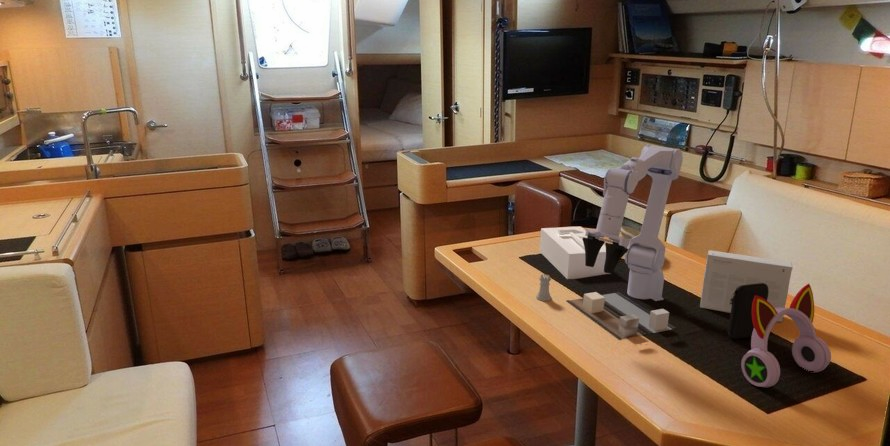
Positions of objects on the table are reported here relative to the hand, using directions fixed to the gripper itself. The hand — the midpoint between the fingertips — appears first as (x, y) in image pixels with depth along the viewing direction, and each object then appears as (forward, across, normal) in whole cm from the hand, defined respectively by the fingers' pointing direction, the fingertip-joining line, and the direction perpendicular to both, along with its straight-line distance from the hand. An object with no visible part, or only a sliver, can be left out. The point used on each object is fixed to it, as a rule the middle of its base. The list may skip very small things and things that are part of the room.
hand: (598, 269), depth 158 cm
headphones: (+13, +30, +34) cm, 47 cm away
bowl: (-3, -44, +50) cm, 67 cm away
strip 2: (+11, -7, +20) cm, 24 cm away
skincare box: (+4, +1, +50) cm, 50 cm away
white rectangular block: (+4, -46, +26) cm, 52 cm away
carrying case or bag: (+9, +13, +39) cm, 42 cm away
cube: (+12, -12, +11) cm, 20 cm away
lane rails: (+13, -7, +16) cm, 21 cm away
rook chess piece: (+14, -23, +2) cm, 27 cm away
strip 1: (+14, -7, +11) cm, 19 cm away
